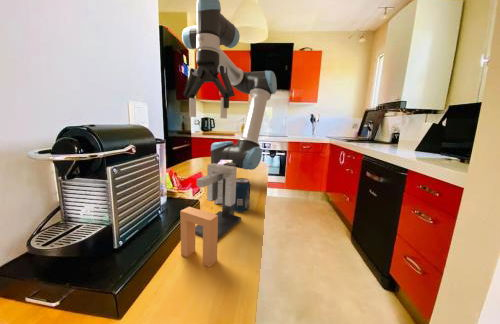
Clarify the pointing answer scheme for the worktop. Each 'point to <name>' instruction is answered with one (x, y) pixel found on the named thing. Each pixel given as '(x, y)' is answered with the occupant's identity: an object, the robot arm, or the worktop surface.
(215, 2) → the robot arm
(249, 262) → the worktop surface
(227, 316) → the worktop surface
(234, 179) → the grey link
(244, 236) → the worktop surface
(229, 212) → the stand
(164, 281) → the worktop surface
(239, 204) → the soda can
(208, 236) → the orange link
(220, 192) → the candy box
